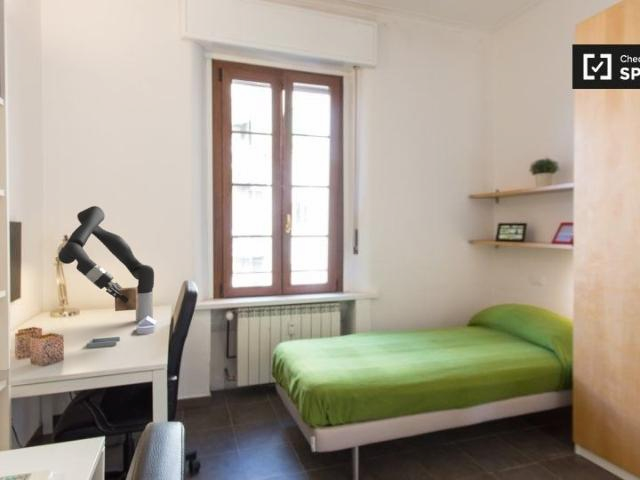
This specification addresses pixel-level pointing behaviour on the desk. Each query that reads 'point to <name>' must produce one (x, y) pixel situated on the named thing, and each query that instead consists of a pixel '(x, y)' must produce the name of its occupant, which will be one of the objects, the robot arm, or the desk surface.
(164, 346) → the desk surface
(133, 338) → the desk surface
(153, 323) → the wedge on round base
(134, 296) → the walnut block
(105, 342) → the grey open-top box
